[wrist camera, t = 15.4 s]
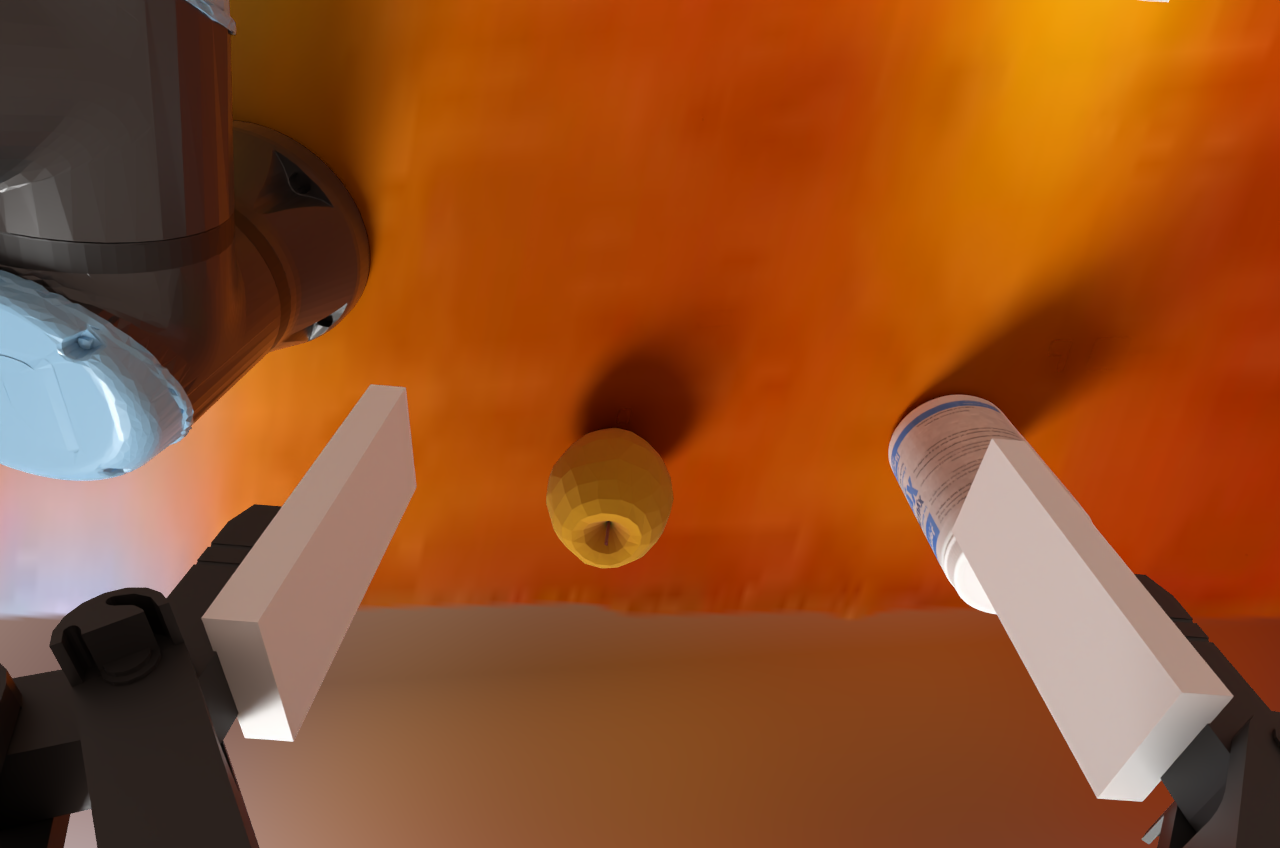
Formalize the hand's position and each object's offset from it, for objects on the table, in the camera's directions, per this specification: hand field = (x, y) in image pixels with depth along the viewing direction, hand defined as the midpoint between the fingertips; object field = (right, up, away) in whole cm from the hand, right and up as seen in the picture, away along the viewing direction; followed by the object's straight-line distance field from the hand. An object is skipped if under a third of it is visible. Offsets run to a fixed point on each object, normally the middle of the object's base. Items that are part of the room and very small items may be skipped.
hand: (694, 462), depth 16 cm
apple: (-3, -1, +42) cm, 42 cm away
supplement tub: (+24, 0, +41) cm, 47 cm away
